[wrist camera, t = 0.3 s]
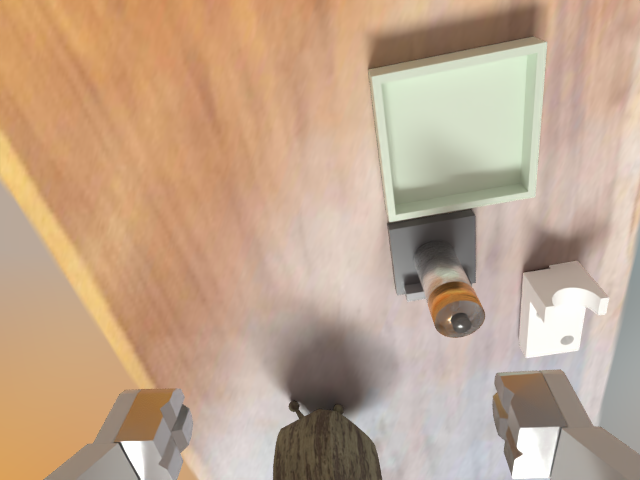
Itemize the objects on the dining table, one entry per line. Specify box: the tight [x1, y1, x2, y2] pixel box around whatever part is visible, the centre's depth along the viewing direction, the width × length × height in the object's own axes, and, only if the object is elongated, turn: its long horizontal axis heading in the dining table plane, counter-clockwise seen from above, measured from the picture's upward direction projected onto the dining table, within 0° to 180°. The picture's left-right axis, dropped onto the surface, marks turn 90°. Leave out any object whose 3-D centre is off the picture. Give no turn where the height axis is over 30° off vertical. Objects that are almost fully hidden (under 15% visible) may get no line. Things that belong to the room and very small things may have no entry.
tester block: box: [387, 209, 476, 302], centre depth 55 cm, size 10×10×3 cm
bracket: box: [519, 261, 609, 358], centre depth 59 cm, size 13×7×8 cm, turn 11°
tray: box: [368, 37, 547, 222], centre depth 47 cm, size 16×16×3 cm
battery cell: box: [414, 240, 485, 338], centre depth 50 cm, size 5×5×12 cm
